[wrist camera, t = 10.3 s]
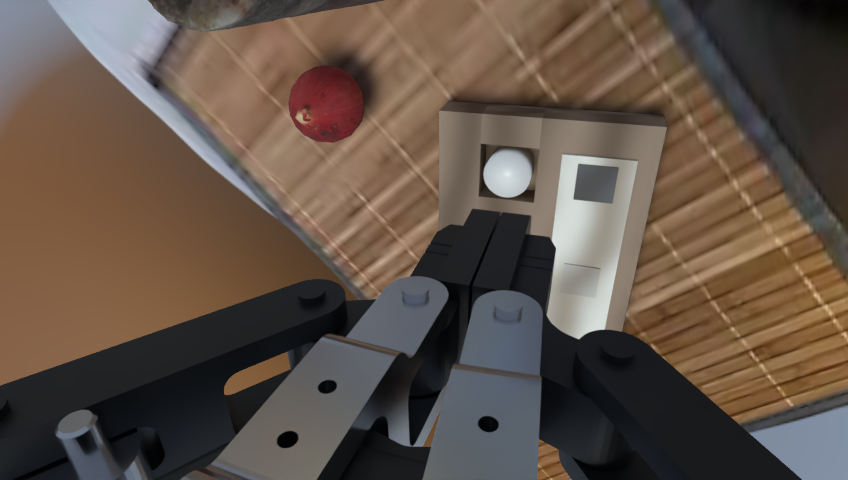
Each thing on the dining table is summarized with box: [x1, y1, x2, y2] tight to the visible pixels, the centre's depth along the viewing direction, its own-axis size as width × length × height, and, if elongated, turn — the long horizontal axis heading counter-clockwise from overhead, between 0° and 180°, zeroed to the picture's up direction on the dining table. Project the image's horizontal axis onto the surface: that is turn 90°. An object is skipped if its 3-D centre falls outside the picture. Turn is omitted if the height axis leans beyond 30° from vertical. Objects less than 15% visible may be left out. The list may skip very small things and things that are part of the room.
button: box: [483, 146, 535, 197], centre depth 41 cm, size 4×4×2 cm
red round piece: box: [289, 66, 364, 143], centre depth 41 cm, size 6×6×8 cm
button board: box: [439, 101, 667, 339], centre depth 45 cm, size 16×26×3 cm, turn 3°
